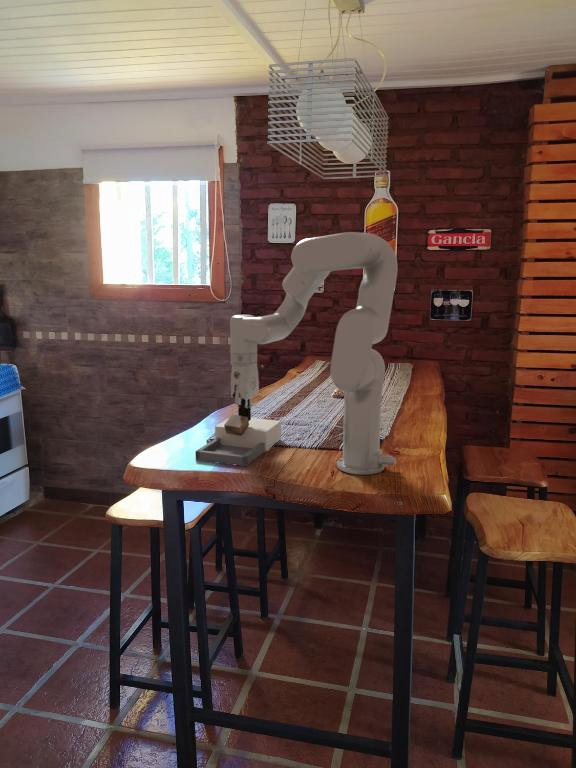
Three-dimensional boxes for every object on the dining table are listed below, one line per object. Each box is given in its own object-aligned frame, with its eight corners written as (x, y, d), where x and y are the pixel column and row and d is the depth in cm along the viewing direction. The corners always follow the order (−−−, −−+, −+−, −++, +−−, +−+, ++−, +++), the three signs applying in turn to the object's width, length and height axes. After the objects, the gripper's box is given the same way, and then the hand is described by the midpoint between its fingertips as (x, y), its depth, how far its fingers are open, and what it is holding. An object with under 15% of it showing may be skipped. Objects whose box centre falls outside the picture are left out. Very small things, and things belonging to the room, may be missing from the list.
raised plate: (280, 439, 182) (280, 420, 181) (266, 452, 171) (266, 431, 169) (232, 434, 187) (232, 416, 186) (215, 445, 176) (215, 426, 175)
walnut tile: (249, 425, 173) (247, 416, 171) (241, 435, 169) (239, 427, 168) (233, 422, 175) (232, 414, 173) (226, 433, 171) (224, 425, 170)
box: (264, 451, 171) (264, 443, 170) (246, 466, 159) (246, 457, 158) (216, 446, 176) (216, 437, 175) (195, 460, 164) (195, 451, 163)
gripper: (245, 363, 163) (245, 428, 167) (266, 355, 177) (266, 415, 181) (220, 361, 165) (221, 426, 169) (242, 353, 179) (243, 413, 183)
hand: (244, 420), depth 175 cm, fingers closed
